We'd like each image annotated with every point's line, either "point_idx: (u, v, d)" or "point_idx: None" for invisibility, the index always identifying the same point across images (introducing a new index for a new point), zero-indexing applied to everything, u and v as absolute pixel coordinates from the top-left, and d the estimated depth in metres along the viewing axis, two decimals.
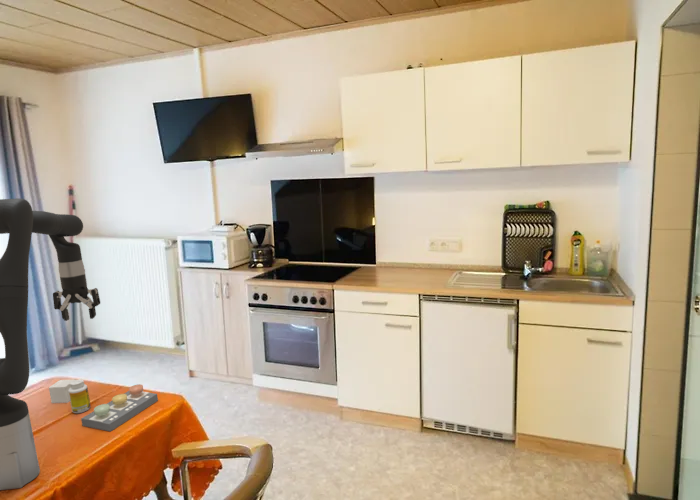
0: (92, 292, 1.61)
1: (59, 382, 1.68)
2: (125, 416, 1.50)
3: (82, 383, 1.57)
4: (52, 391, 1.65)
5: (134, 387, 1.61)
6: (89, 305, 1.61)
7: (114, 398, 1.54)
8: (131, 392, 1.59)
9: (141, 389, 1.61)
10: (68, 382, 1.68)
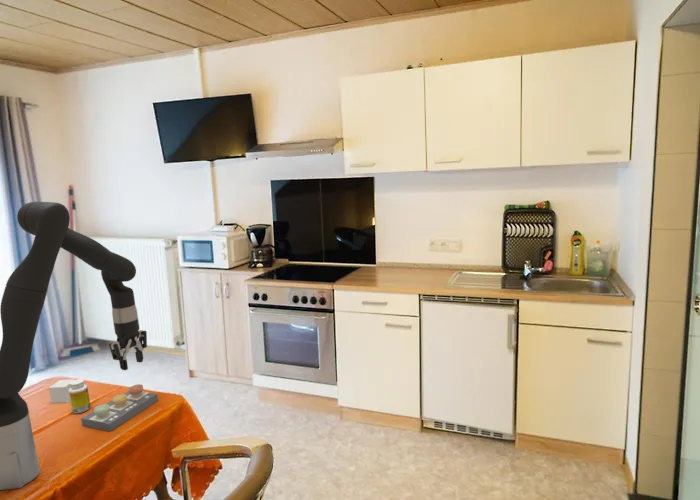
0: (144, 333, 1.63)
1: (59, 382, 1.68)
2: (125, 416, 1.50)
3: (82, 383, 1.57)
4: (52, 391, 1.65)
5: (134, 387, 1.61)
6: (141, 348, 1.62)
7: (114, 398, 1.54)
8: (131, 392, 1.59)
9: (141, 389, 1.61)
10: (68, 382, 1.68)
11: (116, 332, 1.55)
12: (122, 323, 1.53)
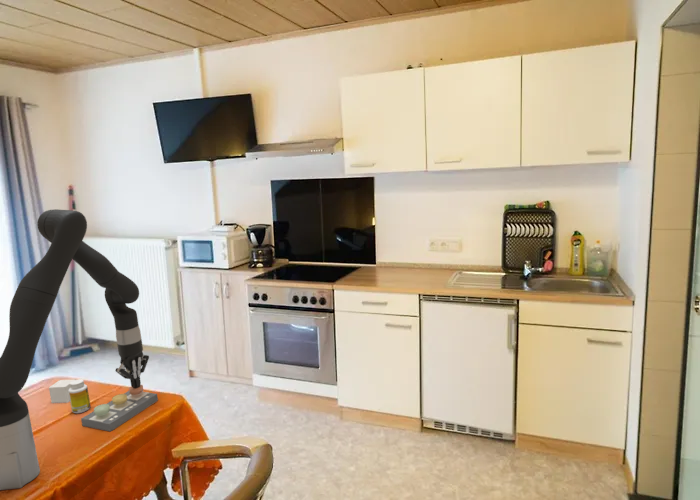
0: (147, 358, 1.64)
1: (59, 382, 1.68)
2: (125, 416, 1.50)
3: (82, 383, 1.57)
4: (52, 391, 1.65)
5: None
6: (138, 373, 1.61)
7: (114, 398, 1.54)
8: (131, 392, 1.59)
9: (141, 389, 1.61)
10: (68, 382, 1.68)
11: (120, 353, 1.56)
12: (126, 345, 1.55)
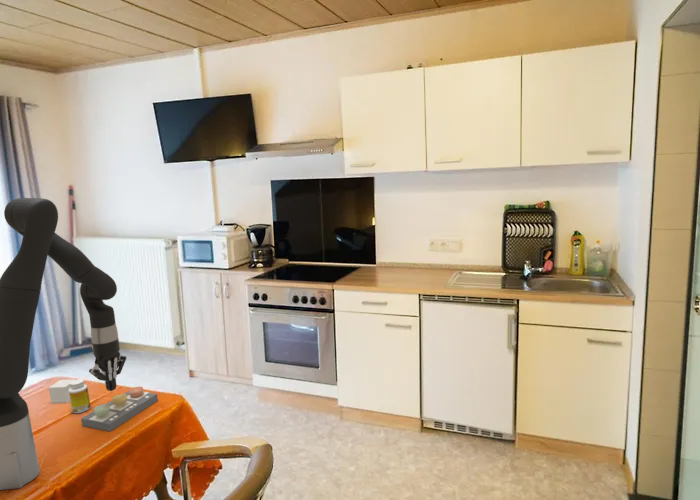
0: (124, 359, 1.55)
1: (59, 382, 1.68)
2: (125, 416, 1.50)
3: (82, 383, 1.57)
4: (52, 391, 1.65)
5: (134, 389, 1.61)
6: (114, 375, 1.51)
7: (114, 398, 1.54)
8: (131, 394, 1.60)
9: (141, 391, 1.61)
10: (68, 382, 1.68)
11: (94, 353, 1.47)
12: (101, 344, 1.46)
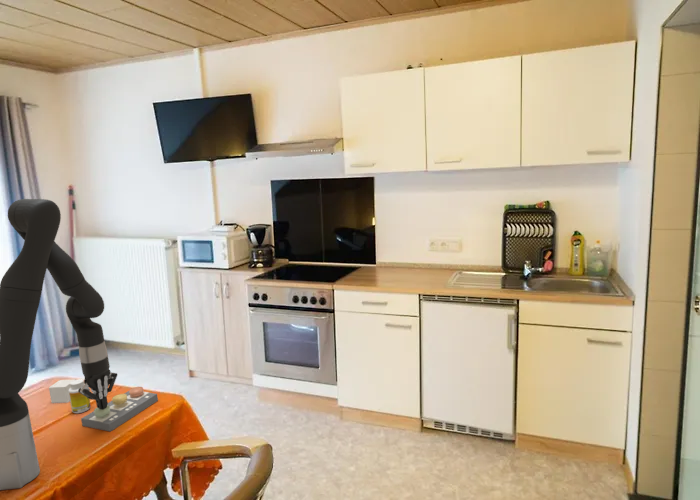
0: (115, 376, 1.51)
1: (59, 382, 1.68)
2: (125, 416, 1.50)
3: (82, 383, 1.57)
4: (52, 391, 1.65)
5: (134, 389, 1.61)
6: (104, 393, 1.48)
7: (114, 398, 1.54)
8: (131, 394, 1.60)
9: (141, 391, 1.61)
10: (68, 382, 1.68)
11: (83, 372, 1.43)
12: (89, 363, 1.42)
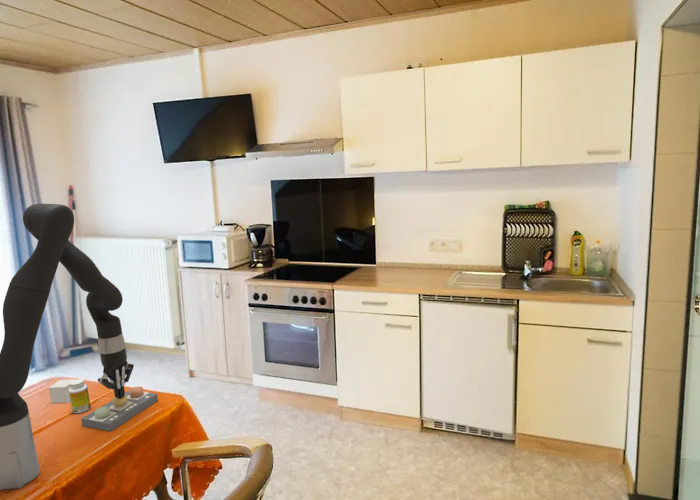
0: (131, 367, 1.58)
1: (59, 382, 1.68)
2: (125, 416, 1.50)
3: (82, 383, 1.57)
4: (52, 391, 1.65)
5: (134, 389, 1.61)
6: (122, 383, 1.54)
7: (114, 399, 1.54)
8: (131, 394, 1.60)
9: (141, 391, 1.61)
10: (68, 382, 1.68)
11: (102, 363, 1.50)
12: (108, 354, 1.48)
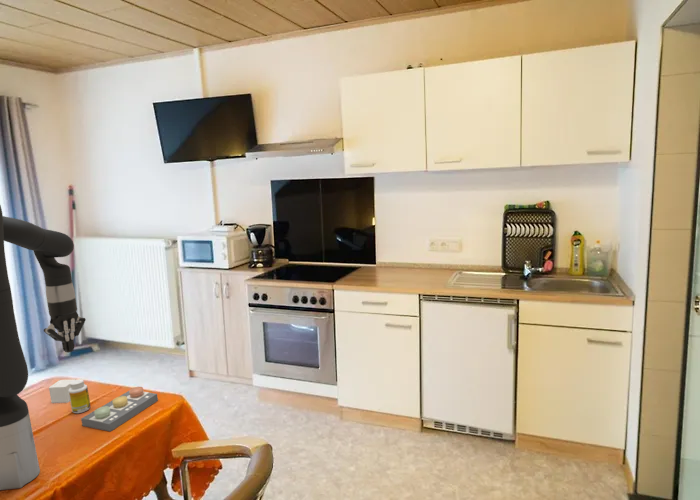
0: (83, 320, 1.51)
1: (59, 382, 1.68)
2: (125, 416, 1.50)
3: (82, 383, 1.57)
4: (52, 391, 1.65)
5: (134, 389, 1.61)
6: (71, 336, 1.47)
7: (114, 400, 1.54)
8: (131, 394, 1.60)
9: (141, 391, 1.61)
10: (68, 382, 1.68)
11: (49, 312, 1.43)
12: (55, 302, 1.42)
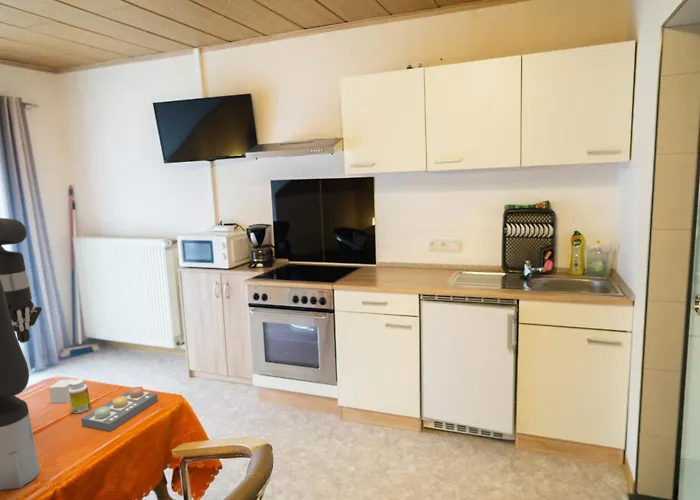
0: (38, 310, 1.46)
1: (59, 382, 1.68)
2: (125, 416, 1.50)
3: (82, 383, 1.57)
4: (52, 391, 1.65)
5: (134, 389, 1.61)
6: (26, 326, 1.43)
7: (114, 400, 1.54)
8: (131, 394, 1.60)
9: (141, 391, 1.61)
10: (68, 382, 1.68)
11: None
12: (7, 291, 1.37)
